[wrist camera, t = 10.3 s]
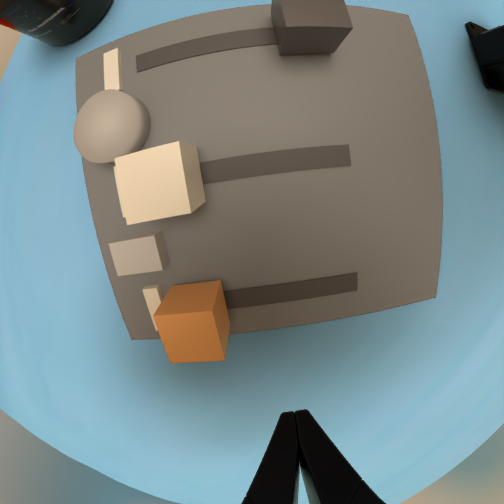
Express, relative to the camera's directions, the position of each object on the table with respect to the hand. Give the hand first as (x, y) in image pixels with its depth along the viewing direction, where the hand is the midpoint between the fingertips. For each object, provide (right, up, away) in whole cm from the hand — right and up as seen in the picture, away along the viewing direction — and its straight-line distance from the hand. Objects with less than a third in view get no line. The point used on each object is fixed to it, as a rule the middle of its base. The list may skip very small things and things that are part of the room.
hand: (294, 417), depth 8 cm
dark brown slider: (+1, +17, +4) cm, 18 cm away
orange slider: (-4, +2, +9) cm, 10 cm away
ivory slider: (-5, +9, +6) cm, 12 cm away
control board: (-1, +10, +8) cm, 13 cm away
